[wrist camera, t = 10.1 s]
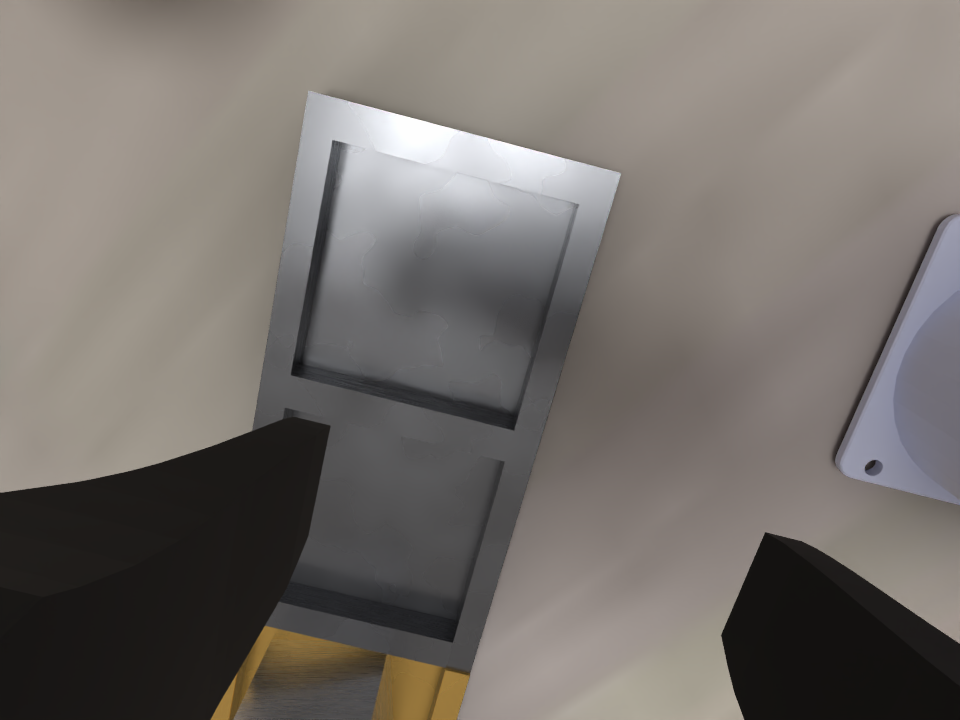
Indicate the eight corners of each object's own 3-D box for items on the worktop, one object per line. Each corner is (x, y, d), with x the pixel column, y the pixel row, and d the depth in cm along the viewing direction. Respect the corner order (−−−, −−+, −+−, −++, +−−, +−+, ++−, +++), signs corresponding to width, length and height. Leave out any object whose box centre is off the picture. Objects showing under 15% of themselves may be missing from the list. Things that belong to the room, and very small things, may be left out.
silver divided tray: (612, 171, 19) (621, 173, 17) (423, 803, 26) (418, 844, 24) (323, 95, 18) (307, 90, 17) (210, 755, 25) (191, 794, 24)
